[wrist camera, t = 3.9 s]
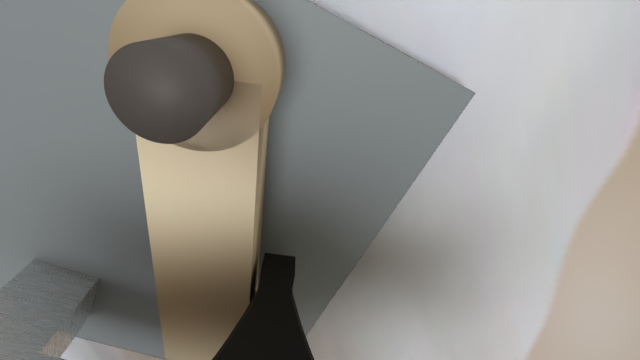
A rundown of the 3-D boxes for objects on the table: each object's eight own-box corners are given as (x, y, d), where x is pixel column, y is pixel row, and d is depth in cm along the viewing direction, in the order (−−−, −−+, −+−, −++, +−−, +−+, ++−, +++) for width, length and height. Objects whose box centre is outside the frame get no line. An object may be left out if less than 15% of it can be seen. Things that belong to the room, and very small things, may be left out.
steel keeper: (178, 338, 12) (130, 456, 9) (30, 298, 11) (-86, 417, 8) (193, 305, 12) (145, 422, 8) (34, 258, 10) (-93, 372, 7)
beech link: (146, -26, 7) (7, -56, 4) (291, -2, 7) (274, -12, 4) (181, 354, 12) (139, 465, 9) (259, 359, 13) (243, 469, 10)
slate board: (273, 363, 15) (270, 386, 14) (8, 292, 12) (-15, 314, 12) (460, 85, 9) (475, 93, 8) (32, -151, 7) (-11, -176, 6)
